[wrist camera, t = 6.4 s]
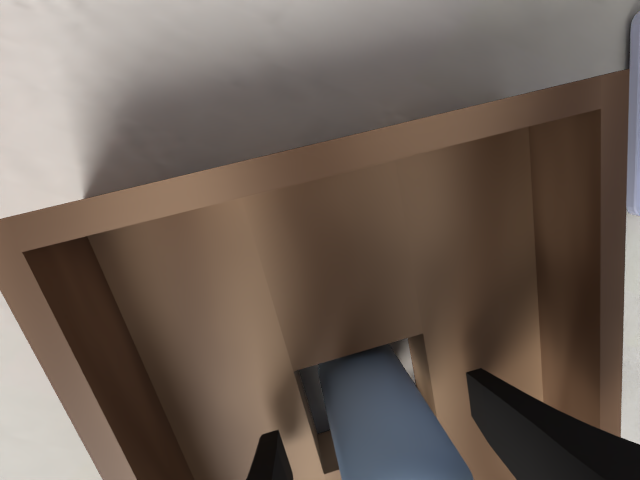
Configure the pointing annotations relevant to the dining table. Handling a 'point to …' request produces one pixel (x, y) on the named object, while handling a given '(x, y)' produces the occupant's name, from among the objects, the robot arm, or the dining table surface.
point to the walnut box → (337, 284)
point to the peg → (384, 422)
